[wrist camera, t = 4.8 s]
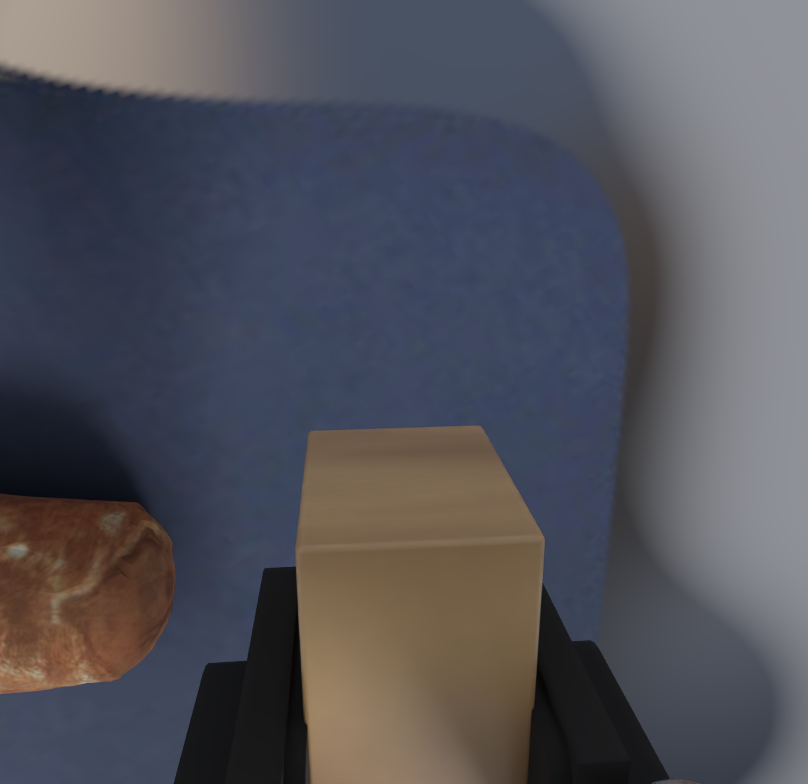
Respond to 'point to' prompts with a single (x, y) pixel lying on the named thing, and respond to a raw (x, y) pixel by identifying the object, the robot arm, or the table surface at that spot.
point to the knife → (416, 608)
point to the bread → (79, 590)
